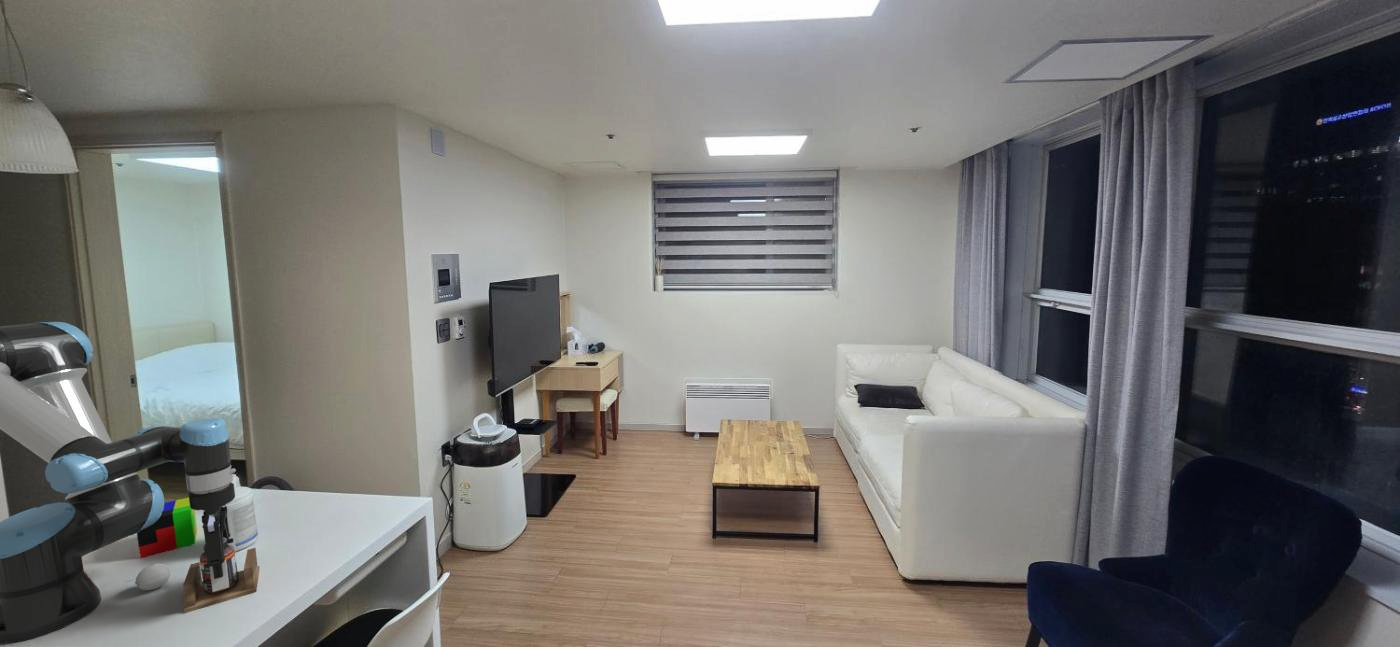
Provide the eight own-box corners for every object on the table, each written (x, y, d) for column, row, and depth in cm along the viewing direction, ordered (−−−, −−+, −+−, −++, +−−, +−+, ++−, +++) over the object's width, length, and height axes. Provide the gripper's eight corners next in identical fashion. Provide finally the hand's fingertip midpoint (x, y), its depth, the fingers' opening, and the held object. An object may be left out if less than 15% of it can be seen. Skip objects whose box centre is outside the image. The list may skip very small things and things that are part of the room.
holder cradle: (184, 613, 112) (180, 587, 111) (192, 587, 121) (189, 563, 120) (256, 591, 119) (253, 567, 119) (259, 568, 128) (257, 546, 127)
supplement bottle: (203, 598, 116) (195, 553, 114) (206, 584, 120) (197, 541, 118) (238, 587, 119) (231, 543, 117) (240, 574, 124) (232, 531, 122)
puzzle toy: (145, 542, 140) (140, 507, 138) (197, 529, 146) (192, 496, 145) (140, 558, 132) (135, 522, 131) (194, 544, 139) (190, 509, 137)
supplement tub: (258, 532, 145) (253, 482, 143) (258, 547, 138) (252, 495, 136) (211, 544, 139) (205, 492, 137) (208, 560, 131) (201, 506, 130)
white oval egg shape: (177, 578, 124) (174, 556, 123) (162, 592, 119) (159, 570, 118) (136, 585, 122) (132, 562, 121) (118, 600, 116) (115, 577, 116)
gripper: (228, 498, 111) (240, 596, 114) (237, 468, 127) (248, 555, 130) (179, 509, 107) (193, 610, 110) (195, 476, 122) (207, 565, 125)
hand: (223, 580), depth 120 cm, fingers open, 7 cm apart
